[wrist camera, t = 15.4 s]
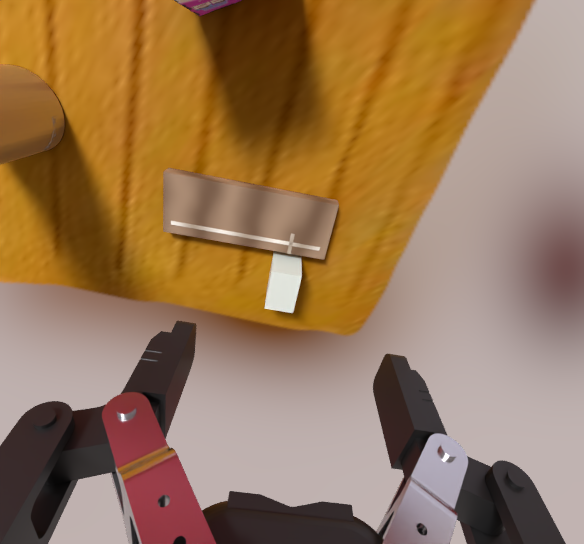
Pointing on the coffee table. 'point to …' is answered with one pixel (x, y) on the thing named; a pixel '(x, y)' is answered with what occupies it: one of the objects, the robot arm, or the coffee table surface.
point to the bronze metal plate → (247, 214)
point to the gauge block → (283, 282)
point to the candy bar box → (205, 5)
